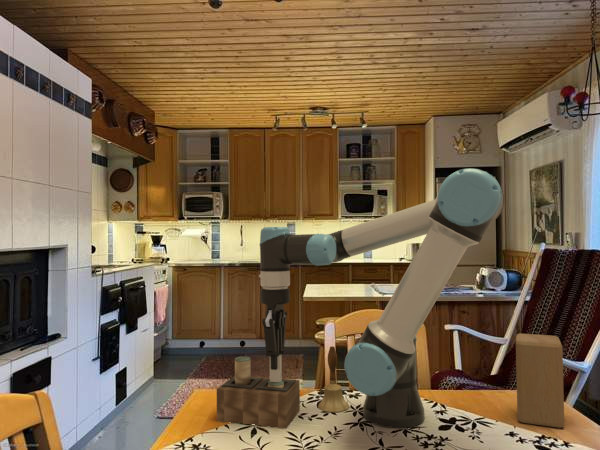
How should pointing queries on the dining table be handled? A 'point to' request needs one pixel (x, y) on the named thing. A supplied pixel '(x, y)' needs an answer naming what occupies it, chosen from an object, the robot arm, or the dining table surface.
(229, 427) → the dining table surface
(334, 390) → the hand bell
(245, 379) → the peg
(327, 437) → the dining table surface
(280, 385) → the peg
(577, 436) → the dining table surface
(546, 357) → the block
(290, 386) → the socket block
